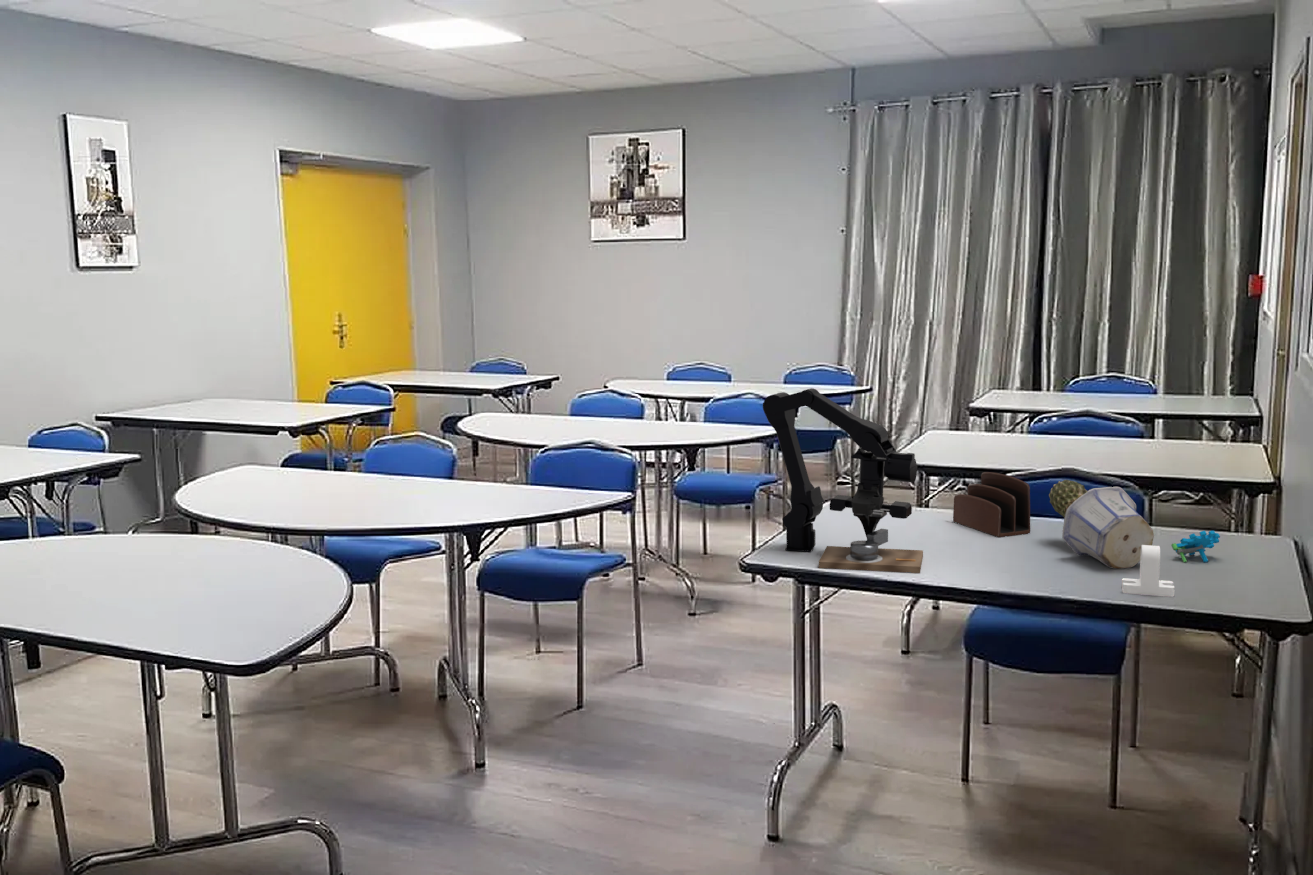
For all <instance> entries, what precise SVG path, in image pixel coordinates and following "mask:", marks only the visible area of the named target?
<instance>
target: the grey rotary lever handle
mask: <svg viewBox="0 0 1313 875" xmlns="http://www.w3.org/2000/svg"><path fill="white" fill-rule="evenodd" d="M888 542H889V529H887V528H879V529H877V530H875V531H874V532H872V533H870V534H867V537H866V540H853V541H851V542H850V546H849V547H850V556H851V557H852V558H854V559H859V560H872V559H876V558H878V548H879V546H881V545H884V544H886V543H888Z"/></svg>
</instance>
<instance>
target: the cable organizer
mask: <svg viewBox="0 0 1313 875" xmlns="http://www.w3.org/2000/svg"><path fill="white" fill-rule="evenodd" d="M1139 563H1140V564H1139V578H1122V579H1121V589H1122V593H1123V594H1128V595H1142V596H1155V597H1169V598H1173V597H1175V585H1174V581H1172V580H1162V579H1161V580H1160V571H1161V547H1160V545H1153V544H1152V545H1141V556H1140V561H1139Z"/></svg>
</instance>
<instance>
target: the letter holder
mask: <svg viewBox="0 0 1313 875" xmlns="http://www.w3.org/2000/svg"><path fill="white" fill-rule="evenodd" d="M1030 493H1031V487H1030V484H1029V483H1027V481H1023V480H1022V479H1019V478H1017V477H1014V476H1011V475H1008V474H1004V473H999V472H993V471H992V472H989V471H984V472H982V473H981V475H980V483H970V484H968V486H967V494H963V493H958V494H955V495H954V497H953V509H952V510H953V512H952V513H953V514H952V516H953V517H952V521H953V523H955V522H957V523H956V524H958V523H959V525H961V526H964V527H968V528H970V529H973V530H976V531H979V532H983V533H985V534H987V535H991V536H994V537H996V536H997V538H1005V536H1007V537H1013V536H1014V537H1015V536H1020V535H1021V536H1023V535H1029V534H1028V533H1030V534H1031V494H1030ZM1022 534H1023V535H1022Z"/></svg>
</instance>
